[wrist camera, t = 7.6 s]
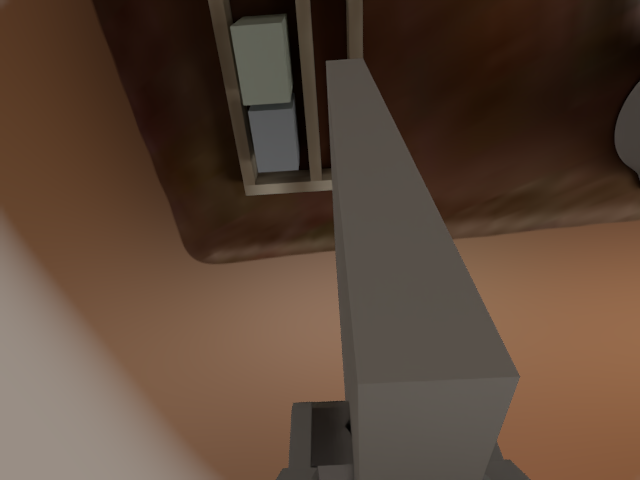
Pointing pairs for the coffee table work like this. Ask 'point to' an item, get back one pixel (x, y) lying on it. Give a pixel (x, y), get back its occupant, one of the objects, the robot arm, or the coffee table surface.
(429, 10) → the coffee table surface
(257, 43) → the sage offcut
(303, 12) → the birch rack
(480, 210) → the coffee table surface
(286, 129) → the slate offcut
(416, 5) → the coffee table surface
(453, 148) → the coffee table surface
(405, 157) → the tall board
